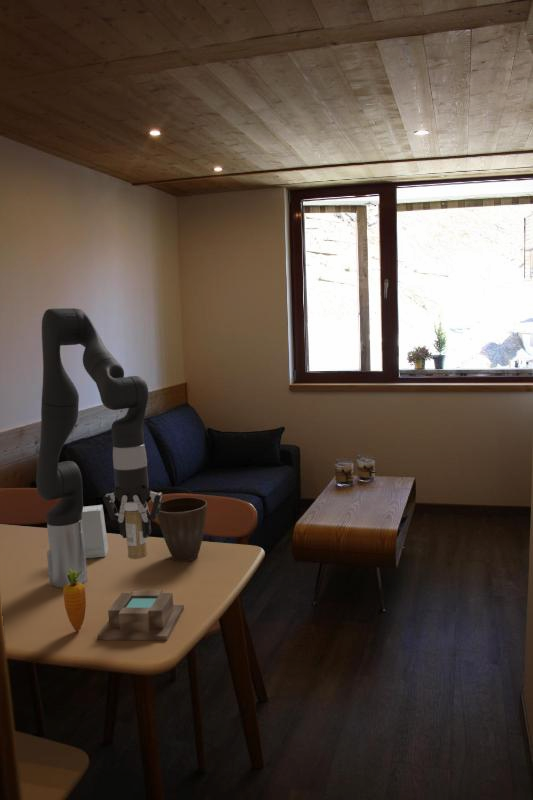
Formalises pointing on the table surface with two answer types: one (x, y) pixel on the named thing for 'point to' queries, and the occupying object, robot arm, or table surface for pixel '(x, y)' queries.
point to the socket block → (142, 617)
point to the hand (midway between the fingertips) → (136, 536)
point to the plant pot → (183, 526)
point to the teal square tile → (141, 603)
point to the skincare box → (94, 531)
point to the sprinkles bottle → (134, 532)
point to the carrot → (75, 600)
